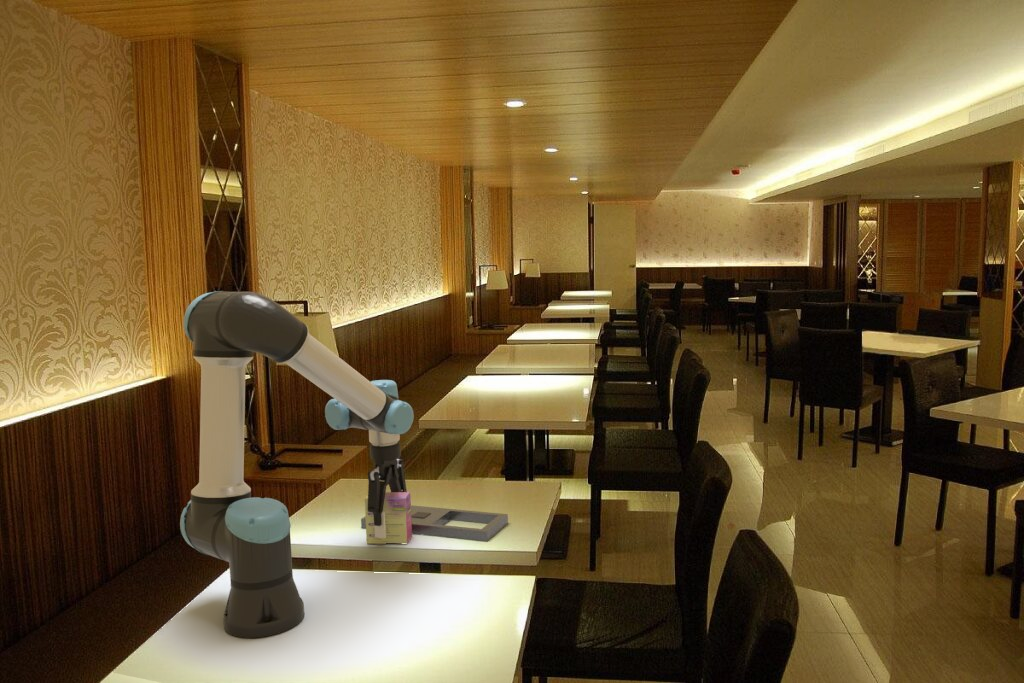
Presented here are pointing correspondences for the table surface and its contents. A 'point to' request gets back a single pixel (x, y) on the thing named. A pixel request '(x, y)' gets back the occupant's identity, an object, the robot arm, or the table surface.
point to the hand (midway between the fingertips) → (389, 531)
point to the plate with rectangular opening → (435, 518)
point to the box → (392, 519)
